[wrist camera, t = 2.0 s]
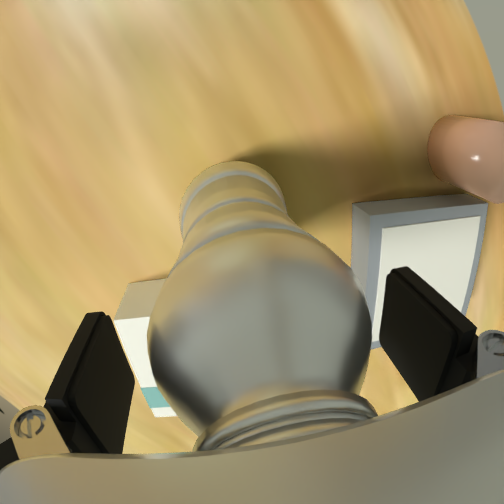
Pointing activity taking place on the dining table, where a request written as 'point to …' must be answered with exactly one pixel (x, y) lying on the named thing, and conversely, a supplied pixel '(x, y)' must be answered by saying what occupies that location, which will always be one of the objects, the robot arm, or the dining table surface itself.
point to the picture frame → (418, 246)
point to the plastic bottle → (256, 319)
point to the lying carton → (141, 338)
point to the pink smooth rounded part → (469, 155)
